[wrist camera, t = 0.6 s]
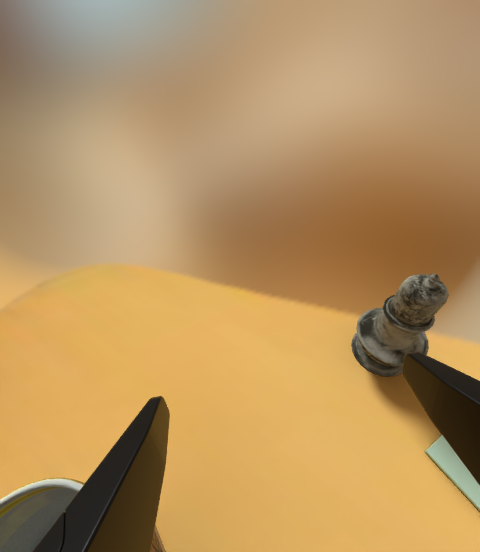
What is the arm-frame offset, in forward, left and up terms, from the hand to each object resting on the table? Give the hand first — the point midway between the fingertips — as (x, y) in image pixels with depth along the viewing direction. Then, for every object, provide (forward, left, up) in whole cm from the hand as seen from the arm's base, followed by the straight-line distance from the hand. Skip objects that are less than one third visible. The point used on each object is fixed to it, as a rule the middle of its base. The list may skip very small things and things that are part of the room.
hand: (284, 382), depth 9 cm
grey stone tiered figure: (+1, -13, -16) cm, 21 cm away
